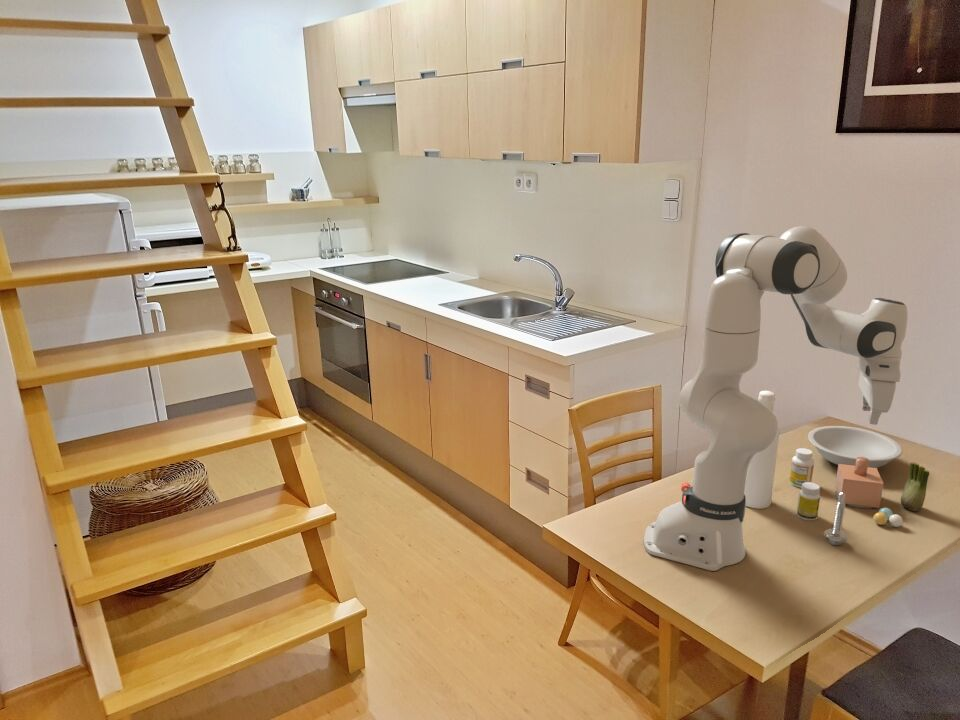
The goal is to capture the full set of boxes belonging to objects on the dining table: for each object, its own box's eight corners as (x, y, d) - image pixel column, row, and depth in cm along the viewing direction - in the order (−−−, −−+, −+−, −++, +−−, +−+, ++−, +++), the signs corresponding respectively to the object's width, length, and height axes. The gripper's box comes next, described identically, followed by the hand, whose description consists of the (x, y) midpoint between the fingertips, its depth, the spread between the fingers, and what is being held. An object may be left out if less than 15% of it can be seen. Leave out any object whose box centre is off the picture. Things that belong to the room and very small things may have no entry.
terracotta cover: (839, 502, 181) (845, 464, 178) (834, 486, 190) (840, 449, 186) (879, 507, 179) (886, 469, 175) (872, 491, 187) (879, 454, 184)
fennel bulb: (924, 515, 176) (933, 471, 173) (902, 512, 178) (910, 468, 174) (919, 504, 182) (927, 461, 178) (897, 501, 183) (905, 458, 179)
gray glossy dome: (837, 505, 181) (837, 503, 181) (832, 487, 190) (832, 485, 190) (881, 511, 178) (881, 509, 178) (874, 492, 187) (874, 490, 187)
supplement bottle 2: (819, 521, 174) (823, 491, 171) (798, 520, 175) (802, 489, 172) (814, 512, 178) (818, 482, 176) (794, 510, 179) (798, 480, 177)
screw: (822, 545, 164) (823, 534, 168) (846, 550, 162) (846, 539, 166) (830, 494, 160) (831, 485, 164) (854, 499, 158) (854, 490, 162)
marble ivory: (889, 528, 171) (891, 517, 170) (886, 522, 173) (888, 511, 172) (903, 530, 170) (905, 519, 169) (900, 524, 172) (902, 513, 172)
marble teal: (879, 521, 174) (881, 510, 173) (876, 515, 176) (878, 504, 176) (892, 523, 173) (894, 512, 172) (890, 517, 176) (892, 506, 175)
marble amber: (873, 526, 172) (875, 515, 171) (871, 520, 174) (873, 509, 173) (887, 528, 171) (889, 517, 170) (885, 521, 173) (887, 511, 173)
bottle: (739, 507, 181) (751, 396, 172) (737, 492, 188) (748, 386, 179) (772, 510, 179) (786, 399, 170) (769, 496, 186) (782, 388, 177)
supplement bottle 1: (800, 477, 196) (805, 445, 193) (815, 486, 191) (820, 453, 188) (784, 481, 194) (789, 448, 192) (799, 489, 190) (803, 456, 187)
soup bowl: (797, 468, 202) (800, 446, 200) (814, 439, 220) (816, 419, 219) (893, 490, 189) (897, 467, 187) (902, 457, 207) (906, 437, 205)
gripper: (857, 351, 184) (848, 401, 188) (871, 374, 165) (862, 429, 169) (884, 353, 182) (875, 404, 186) (902, 377, 163) (891, 433, 167)
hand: (869, 416), depth 177 cm, fingers open, 8 cm apart
